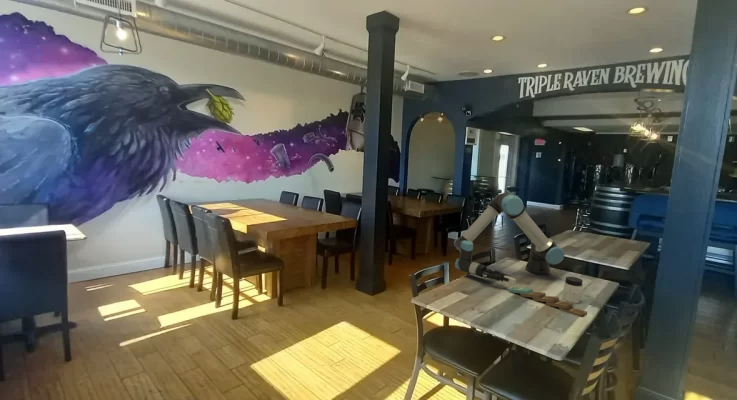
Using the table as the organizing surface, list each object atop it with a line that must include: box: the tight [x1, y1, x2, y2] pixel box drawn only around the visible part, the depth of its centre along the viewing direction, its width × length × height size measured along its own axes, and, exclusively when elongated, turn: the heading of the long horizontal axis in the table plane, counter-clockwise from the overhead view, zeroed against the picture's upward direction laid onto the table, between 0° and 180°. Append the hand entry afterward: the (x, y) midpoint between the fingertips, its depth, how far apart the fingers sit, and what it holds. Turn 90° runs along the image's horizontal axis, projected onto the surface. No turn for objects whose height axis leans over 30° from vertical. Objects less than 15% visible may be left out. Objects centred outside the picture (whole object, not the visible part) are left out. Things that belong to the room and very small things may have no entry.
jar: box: [561, 276, 583, 304], centre depth 200 cm, size 9×8×12 cm
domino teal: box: [508, 286, 534, 294], centre depth 206 cm, size 6×2×11 cm
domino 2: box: [532, 295, 560, 303], centre depth 195 cm, size 6×2×11 cm
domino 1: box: [519, 291, 547, 299], centre depth 201 cm, size 6×2×11 cm
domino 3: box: [545, 299, 574, 309], centre depth 190 cm, size 6×2×11 cm
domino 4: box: [558, 306, 588, 318], centre depth 185 cm, size 6×2×11 cm
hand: (514, 281), depth 208 cm, fingers closed
